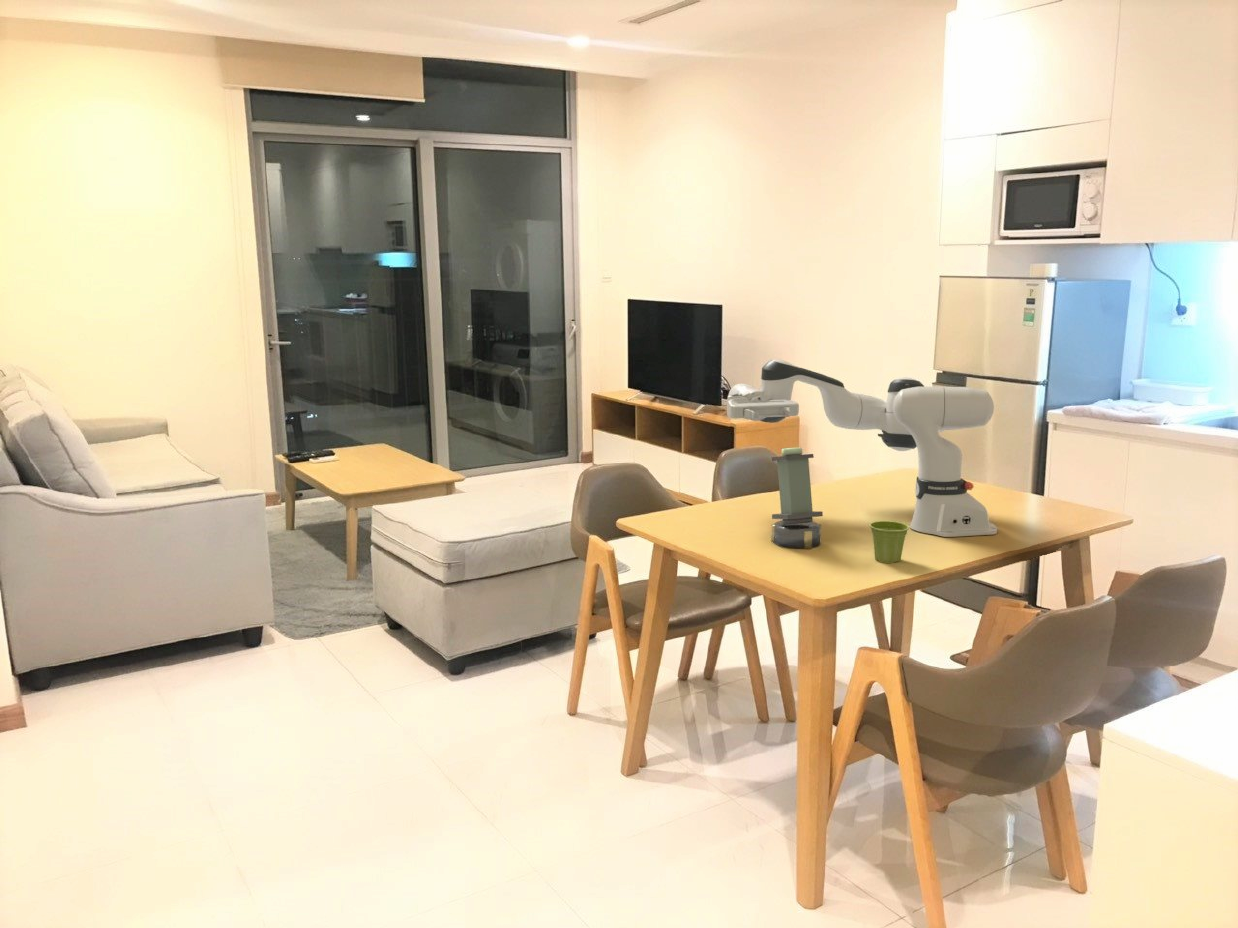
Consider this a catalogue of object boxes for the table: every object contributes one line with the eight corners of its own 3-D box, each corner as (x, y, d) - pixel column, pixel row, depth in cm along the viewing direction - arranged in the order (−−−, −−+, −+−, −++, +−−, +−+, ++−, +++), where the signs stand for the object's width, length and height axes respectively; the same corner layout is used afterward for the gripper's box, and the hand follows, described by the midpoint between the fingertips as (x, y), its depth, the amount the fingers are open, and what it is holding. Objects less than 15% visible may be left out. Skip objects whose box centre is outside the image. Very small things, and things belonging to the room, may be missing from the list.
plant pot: (907, 555, 246) (909, 521, 245) (908, 566, 237) (909, 531, 236) (868, 553, 249) (870, 519, 247) (867, 563, 240) (868, 529, 238)
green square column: (806, 521, 264) (800, 447, 264) (823, 522, 256) (817, 445, 256) (772, 524, 261) (766, 450, 261) (788, 525, 253) (782, 448, 253)
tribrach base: (806, 535, 267) (806, 517, 266) (830, 547, 255) (830, 528, 254) (766, 539, 263) (766, 521, 262) (788, 551, 251) (788, 533, 251)
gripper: (788, 414, 291) (806, 424, 277) (721, 417, 287) (736, 427, 274) (789, 393, 289) (807, 402, 276) (722, 395, 285) (737, 405, 272)
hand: (771, 414), depth 275 cm, fingers open, 8 cm apart
